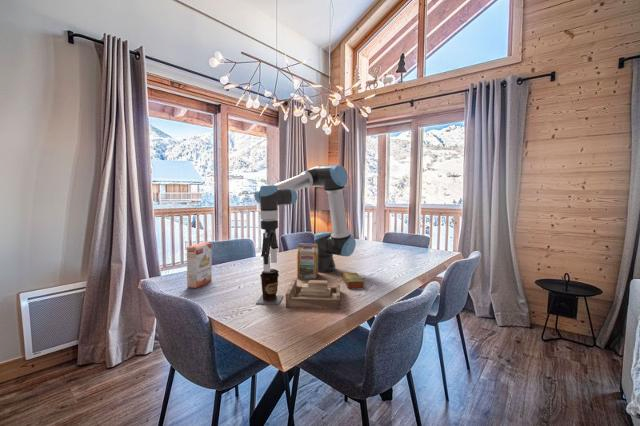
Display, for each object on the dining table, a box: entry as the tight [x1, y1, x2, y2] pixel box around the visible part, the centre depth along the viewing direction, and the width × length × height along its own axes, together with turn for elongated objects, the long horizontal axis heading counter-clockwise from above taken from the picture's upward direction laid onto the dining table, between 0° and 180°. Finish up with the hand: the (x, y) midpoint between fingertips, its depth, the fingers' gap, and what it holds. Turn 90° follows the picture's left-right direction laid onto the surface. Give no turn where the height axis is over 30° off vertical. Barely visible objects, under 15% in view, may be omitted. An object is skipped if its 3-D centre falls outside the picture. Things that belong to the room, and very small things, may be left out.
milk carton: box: [296, 243, 319, 280], centre depth 174 cm, size 11×10×19 cm
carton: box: [342, 272, 365, 290], centre depth 161 cm, size 8×16×4 cm, turn 6°
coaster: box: [255, 294, 284, 306], centre depth 137 cm, size 10×10×1 cm
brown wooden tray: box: [285, 277, 341, 310], centre depth 139 cm, size 22×23×6 cm
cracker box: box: [186, 242, 213, 289], centre depth 159 cm, size 14×6×21 cm, turn 168°
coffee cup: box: [259, 268, 280, 301], centre depth 137 cm, size 9×8×13 cm
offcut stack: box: [300, 279, 332, 297], centre depth 146 cm, size 5×14×6 cm, turn 86°
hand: (270, 266), depth 136 cm, fingers open, 13 cm apart
